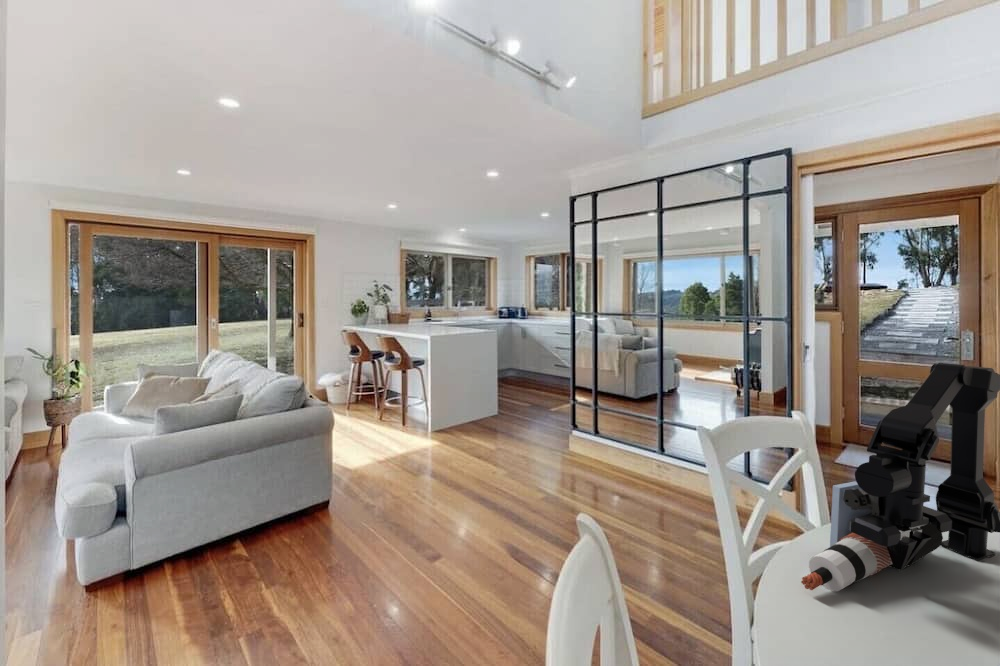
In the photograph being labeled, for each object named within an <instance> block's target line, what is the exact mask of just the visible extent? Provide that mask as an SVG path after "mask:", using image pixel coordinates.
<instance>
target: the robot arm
mask: <svg viewBox="0 0 1000 666" xmlns="http://www.w3.org/2000/svg"><path fill="white" fill-rule="evenodd" d="M999 392H1000V374H999V373H998V372H996V371H995V370H994V368H992V367H985V366H984V367H983V366H972V365H965V364H962V363H959V364H958V363H949V362H938V363H935V362H934V363H933V364H932V365H931V366H930V371H929V375H927V377H926V379H925V380H924V381H923V382H922V384H921V385H920V386H919V388H918V389H917V390H916V392H915V393H914V394H913V396H912V397H911V398H910V400H909V401H908V402H907V403H906V404H905V405H904V406H900V407H896V408H893V409H892V410H890V411H889V412H888V413H887V414H886V415H885V416H884V417H883V418H882V419H880V420H879V421H878V423H877V425H876V427H875V429H874V432H873V434H872V437H871V439H870V441H869V444H868V446H867V448H866V451H867V452H868V453H872V455H869V456H868V461H867V462H864V463H861V464H860V465H859V466H858V467H857V468H856V469H855V471H854V479H855V481H856V482H857V484H858V485H859V487H860V488H861V489H862V490H859V489H846V490H845V492H844V498H843V501H844V502H845V504H846V505H847V506H849V507H851V510H857V509H862V510H872V514H874V515H877V516H882V517H883V519H884V520H880V519H877V518H875V517H872V516H870V515H865V516H860V517H856V518H853V519H851V520H850V531H851V532H853V533H855V534H857V535H859V536H862V537H864V538H866V539H868V540H871V541H873V542H875V543H877V544H880V545H882V546H886V547H887V549H888V552H889V555H890V558H891V561H892V564H893V566H894V569H896V570H898V571H903V570H904V569H905V568H907V567H906V565H907V564H908V563H909V562H910V560H911V559H912V558H913V557H914V556H915V554H916V553H917V552H918V551H919V550H920V549H921V548H922V546H923V545H924V544H925V543H926V542H927V541H928V540H930V539H931V536H929V535H927V534H924V533H922V529H921V528H920V526H924V525H928V524H934V525H936V528H937V529H938V531H940V532H942V533H946V532H948V537H947V539H946V540H942V542H941V545H940V547H941V546H942V547H944V548H946V549H949V550H951V551H952V552H956V553H958V554H960V555H963V556H966V557H968V558H971V559H973V560H976V561H980V560H983V559H986V558H989V557H993V556H996V552H995V551H993V550H990V549H988V534H989V533H991V534H993V533H1000V509H999V507H998V505H997V504H996V503H995V494H994V491H993V489H992V488H991V487H990V485H989V484H988V483H987V481H986V479H984V475H983V474H984V450H985V449H984V448H985V445H984V444H985V419H986V418H985V415H986V408H988V407H989V406H990V405H991V404H992V403H993V402H994V401H995V400H996V399H997V398H998V393H999ZM949 406H950V407H951V411H952V412H951V435H950V436H951V440H950V441H951V442H950V444H951V445H950V474H949V476H948V477H947V478H946V479H945V480H944V481H943V482H942V483H940V484H939V485H938V486H937V487H938V488H937V489H938V490H937V492H936V494H935V503H936V504H935V505H936V509H933V508H931V507H928V506H925V505H924V503H928V502H931V495H929V494H926V493H925V484H926V472H927V471H926V468H927V467H926V466H927V465H926V462H928V461H930V460H931V458H932V456H933V454H934V453H935V451H936V449H937V447H938V444H939V442H940V437H939V432H938V428H937V426H936V425H937V423H938V422H939V420H940V419H941V417H942V416H943V414H944V413H945V412H946V410H947V409H948V407H949Z"/></svg>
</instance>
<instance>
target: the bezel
mask: <svg viewBox="0 0 1000 666" xmlns="http://www.w3.org/2000/svg"><path fill="white" fill-rule="evenodd" d="M846 489H859V490H862V489H861V488H860V487H859V485H858V484H857V482H856V480H855V481H851V482H846V483H845V482H843V483H839V484H834V485H832V496H831V497H832V498H831V499H832V500H831V514H830V515H831V517H830V540H829V547H831V546H832V545H833V544H835V543H837V542H839V541H840V539H842V538H843V537H845V536H847V535H849V534H851V533H853V532H851V531H850V520H851V519H853V518H856V517H860V516H865V515H868V514H870V513H872V510H862V509H857V510H851V507H849V506H847V505H846V504H845V502H844V501H843V498H844V492H845V490H846Z"/></svg>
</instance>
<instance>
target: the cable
mask: <svg viewBox="0 0 1000 666" xmlns="http://www.w3.org/2000/svg"><path fill="white" fill-rule="evenodd" d="M868 515H870V516H872V517H875V518H877V519H880V520H884V519H883V517H882V516H877V515H874V514H872V513H870V514H868ZM920 528H921V529H922V533H924V534H927V535H929V536H931V539H930V540H928V541H927V542H926V543H925V544H924V545H923V546H922V548H921V549H920V550H919V551H918V552H917V553H916V554H915V556H914V557H913V558H912V559H911V560H910V562H909V563H908V564H907V565H906V567H905V568H907V567H909V566H911V565H913V564H915V563H917V562H918V561H919V560H921V559H923V558H925V557H926V556H927V555H929V554H930V553H932V552H934V551H936V550H937V549H938V548H939V547H941V542H942V541H943V539H944V538H943V532H940V531H938V529H937V528H936V525H934V524H928V525H924V526H920ZM888 567H890V568H894V566H893V564H892V561H891V558H890V555H889V552H888V549H887V547H886V546H882V545H880V544H877V543H875V542H873V541H871V540H868V539H866V538H864V537H862V536H859V535H857V534H855V533H851V534H849V535H847V536H845V537H843V538H842V539H840V541H839V542H837V543H835V544H833V545H832V546H831V547H830V546H829V547H828V548H825V549H824V550H823V551H822V552H820V553H817V554H816V555H815V556H812V557H811V558H810V560H809V562H808V568H809V571H810V573H809V574H807V575H805V576H803V577H801V579H802V580H801V582H800V583H801V584H802V585H803V586H804V588H805V589H807V590H810V591H813V590H815V589H817V588H818V587H823V588H825V589H827V590H829V591H832V592H840V591H842V590H843V589H844V588H847V587H849V586H850V585H853V584H855V583H857V582H858V581H859V582H860V581H861V580H864V579H865V578H867V577H871V576H873V575H876V574H878V573H879V572H881V570H884V569H886V568H888ZM894 569H895V568H894Z"/></svg>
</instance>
